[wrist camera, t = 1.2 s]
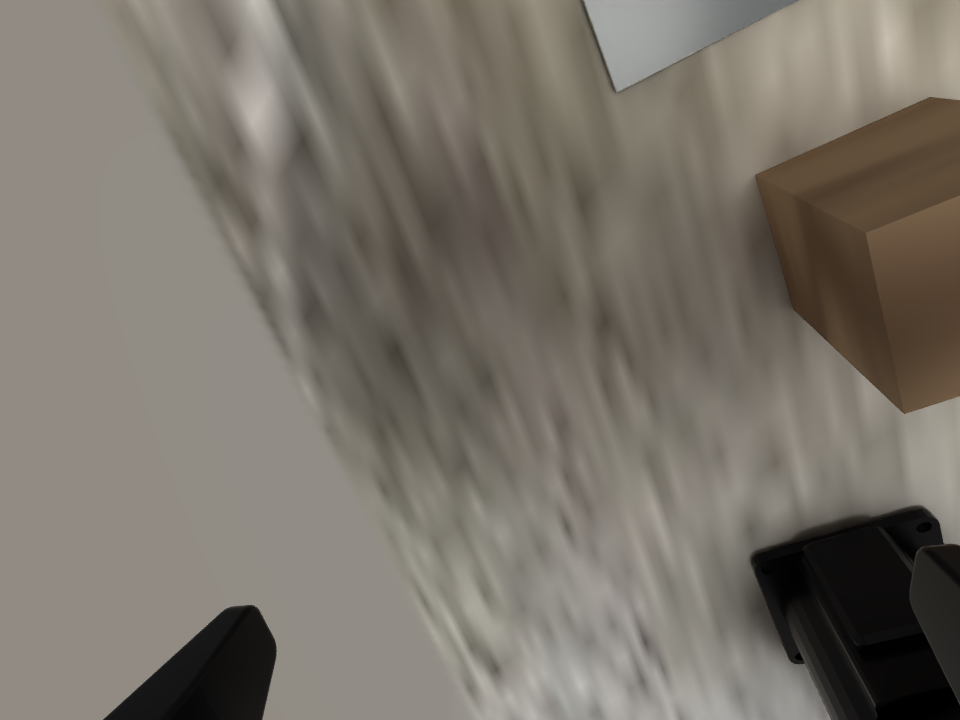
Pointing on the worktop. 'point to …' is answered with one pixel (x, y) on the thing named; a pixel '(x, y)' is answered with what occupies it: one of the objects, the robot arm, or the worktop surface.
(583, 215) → the worktop surface
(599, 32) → the slate coaster
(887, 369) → the walnut block
